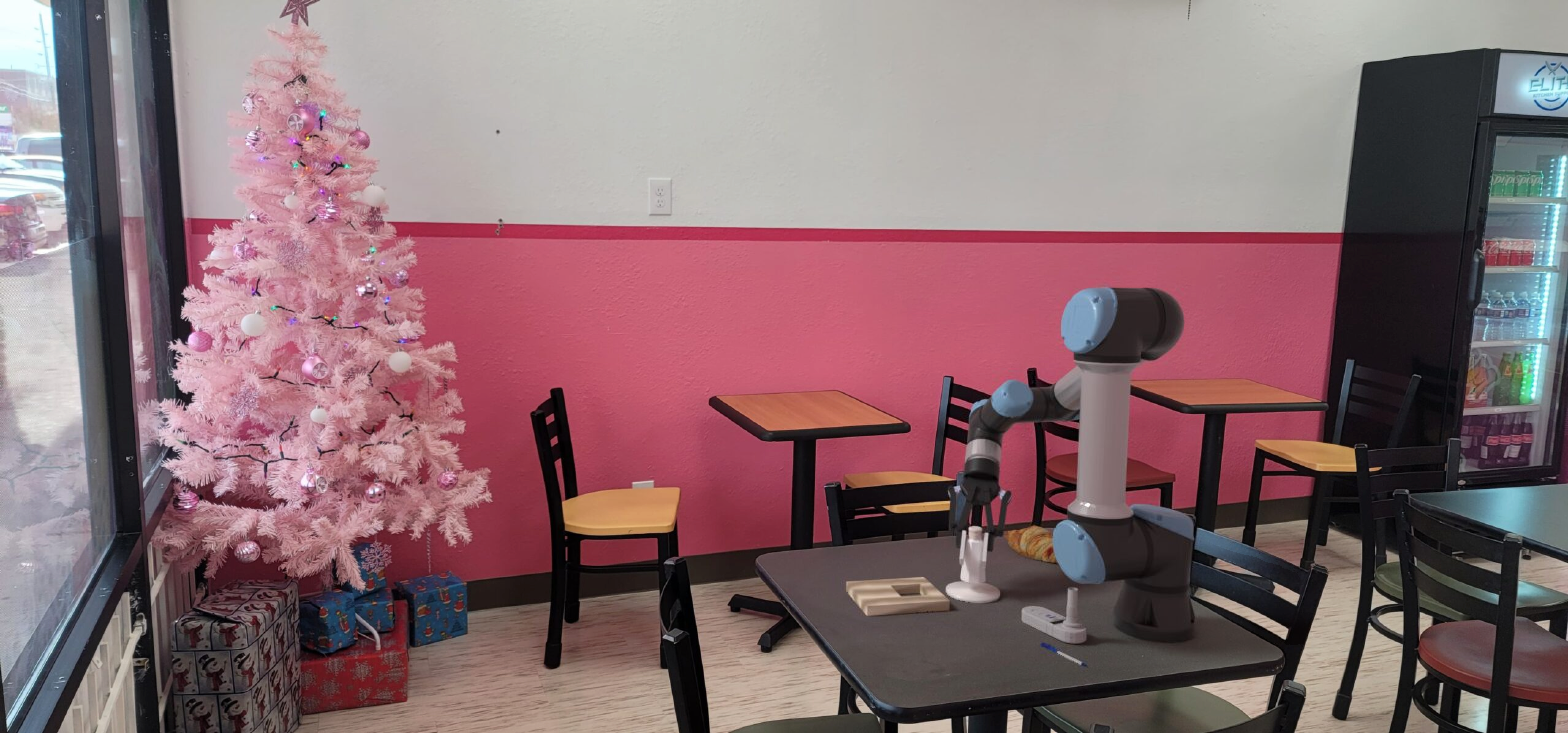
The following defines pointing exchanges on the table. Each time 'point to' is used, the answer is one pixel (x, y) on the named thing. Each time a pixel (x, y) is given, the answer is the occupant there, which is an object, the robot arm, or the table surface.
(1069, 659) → the ballpoint pen
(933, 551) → the table surface
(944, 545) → the table surface
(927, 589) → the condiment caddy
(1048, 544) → the croissant
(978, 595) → the saucer
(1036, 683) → the table surface
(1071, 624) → the electronic device
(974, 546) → the pepper shaker
